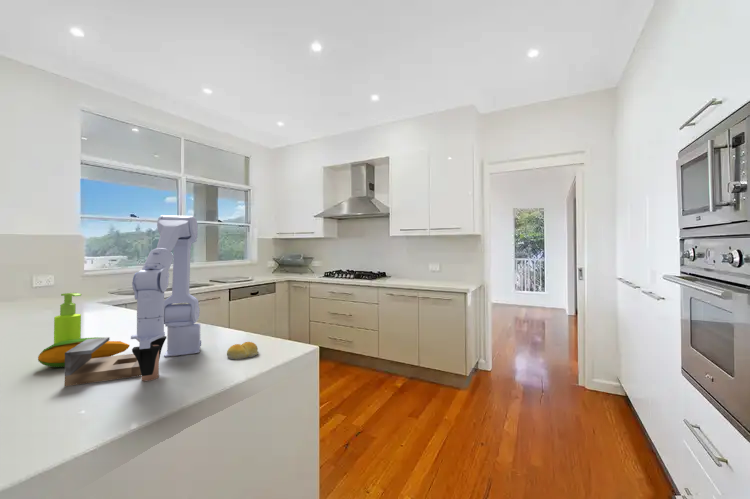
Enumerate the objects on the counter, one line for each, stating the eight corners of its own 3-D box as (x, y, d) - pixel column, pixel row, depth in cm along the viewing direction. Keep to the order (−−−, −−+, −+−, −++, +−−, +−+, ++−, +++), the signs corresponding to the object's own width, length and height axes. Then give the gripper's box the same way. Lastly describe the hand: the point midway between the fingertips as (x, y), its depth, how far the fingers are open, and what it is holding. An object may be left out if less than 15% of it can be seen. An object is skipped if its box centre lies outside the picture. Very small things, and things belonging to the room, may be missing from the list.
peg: (159, 374, 84) (160, 344, 84) (157, 379, 80) (157, 347, 81) (143, 377, 82) (143, 345, 82) (140, 382, 79) (140, 349, 79)
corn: (42, 339, 91) (130, 329, 102) (42, 365, 91) (130, 353, 102) (34, 347, 85) (129, 335, 96) (34, 375, 85) (129, 360, 96)
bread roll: (224, 355, 101) (224, 342, 101) (253, 350, 106) (253, 338, 106) (230, 362, 94) (230, 348, 94) (261, 356, 99) (261, 343, 99)
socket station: (151, 360, 95) (151, 333, 96) (140, 375, 83) (141, 344, 83) (86, 368, 89) (86, 339, 89) (64, 386, 76) (64, 352, 76)
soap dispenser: (66, 362, 94) (67, 294, 94) (48, 361, 95) (49, 293, 95) (88, 356, 99) (88, 292, 100) (70, 355, 101) (71, 291, 101)
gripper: (138, 313, 86) (137, 363, 86) (123, 323, 73) (122, 383, 73) (168, 311, 89) (168, 360, 89) (160, 320, 76) (159, 377, 76)
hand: (150, 370), depth 81 cm, fingers open, 7 cm apart
